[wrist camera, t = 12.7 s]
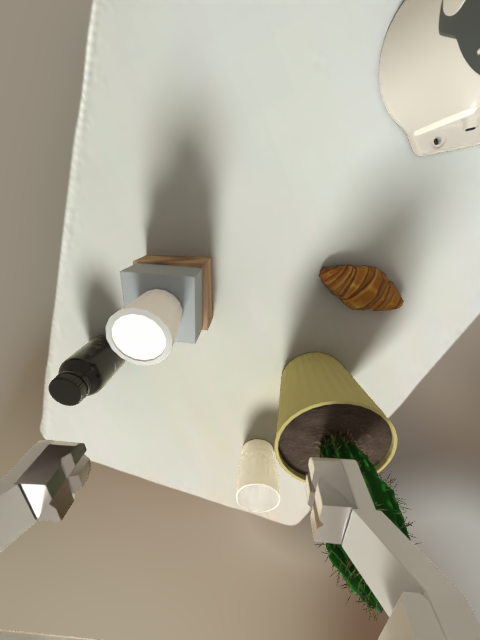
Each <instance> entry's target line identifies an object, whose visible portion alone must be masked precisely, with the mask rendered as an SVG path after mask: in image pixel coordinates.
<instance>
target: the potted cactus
mask: <svg viewBox="0 0 480 640" xmlns="http://www.w3.org/2000/svg"><path fill="white" fill-rule="evenodd" d="M396 447H397V434H396V431H395V428H394V426H393V425H392V423H391V421H390V420H389V419H388V418H387V417H386V416H385V414H384V413H383V412H382V411H381V409H380V408H379V407H378V406H377V405H376V404H375V403H374V401H373V400H372V399H371V398H370V397H369V396H368V395H367V393H366V392H365V391H364V390H363V389H362V388H361V386H360V385H359V384H358V383H357V382H356V381H355V380H354V378H353V377H352V376H351V375H350V374H349V373H348V371H347V370H346V369H345V368H344V367H343V366H342V364H341V363H339V362H338V360H336V359H335V358H333V357H332V356H330V355H327V354H324V353H319V352H312V353H306V354H302V355H300V356H298V357H296V358H294V359H293V360H292V361H290V362H289V363H288V364H287V366H286V367H285V369H284V371H283V374H282V377H281V388H280V399H279V410H278V420H277V430H276V439H275V447H274V450H275V454H276V458H277V460H278V462H279V464H280V465H281V467H282V468H283V469H284V470H285V471H286V472H287V473H288V474H290V475H291V476H292V477H294V478H296V479H298V480H300V481H302V482H305V483H306V475H307V473H308V472H309V465H308V463H309V459H310V457H318V458H338V459H349V460H355V461H356V462H357V464H358V466H359V469H360V471H361V474H362V476H363V479H364V481H365V484H366V486H367V489H368V491H369V494H370V496H371V499H372V501H373V504H374V506H375V509H376V510H379V511H382V512H383V513H384V514H385V515H386V516H387V517H388V518H389V519H390V520H391V521H392V522H393V524H394V525H395V526H396V527H397V528H398V529H399V530H400V531H401V532H402V533H403V534H404V535H405V536H406V537H407V538H408V539H409V540H410V537H409V535H408V532H407V528H406V527H407V525H408V526H409V525H411V524H409V523H408V524H407V525H406V526H405V524H404V522H405V521H404V518H403V516H402V513H401V511H400V509H399V504H398V503H399V502H398V501H396V498H395V494H394V491H393V490H392V489H391V488H389V487H388V486H387V484H386V483H385V482H384V481H383V480H381V479H379V477H378V473H379V472H380V471H381V470H383V468H385V466H386V465H387V464H388V463H389V462H390V461H391V459H392V457H393V455H394V454H395V451H396ZM388 478H389V477H388ZM388 478H387V479H388ZM391 481H392V480H390V484H391V483H392V482H391ZM388 483H389V482H388ZM390 484H389V485H390ZM397 500H398V499H397ZM399 501H400V500H399ZM311 510H312V509H311ZM412 537H413V536H412ZM410 541H411V540H410ZM321 545H324V542H323V544H320V546H321ZM414 545H415V544H414ZM326 548H327V550H328V552H329V555H328V557H329V559H330V560H331V562H332V564H333V566H335V567H336V568H337V569H338V570H337V571H339V573H341V574H342V576H343V578H344V579H345V581H346V583H347V584H348V585H349V586H348V587H351V589H352V592H354V593H357V594H358V595H359V596H360V598H361V599H362V602H363V601H364V602H363V603H367V607H368V608H366V609H369V608H370V610H369V611H370V612H371V608H372V610H373V612H375V611H374V609H377V611H378V612H380V613H382V610H383V607H382V606H381V604H380V603H379V601H378V600H377V598H376V597H375V595H374V594H373V592H372V591H371V589H370V588H369V586H368V585H367V583H366V582H365V580H364V579H363V577H362V576H361V574H360V573H359V571H358V570H357V568H356V567H355V565H354V564H353V562H352V561H351V559H350V558H349V556H348V555H347V553H346V552H345V550H344V549H343V547H342V544H333V543H326ZM326 554H327V553H326ZM338 579H339V576H338ZM344 585H346V584H344ZM344 588H347V587H344ZM350 596H351V595H350ZM349 598H350V597H349ZM348 600H349V599H348ZM359 600H360V599H359ZM358 602H359V601H358ZM360 602H361V601H360ZM370 614H371V613H370ZM374 614H375V613H374ZM375 616H376V615H375Z"/></svg>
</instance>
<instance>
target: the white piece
mask: <svg viewBox="0 0 480 640" xmlns="http://www.w3.org/2000/svg"><path fill="white" fill-rule="evenodd" d="M182 311H183V310H182V307H181V304H180V302H179V301H178V299H177V298H176V297H175V296H174V295H173V294H171V293H169V292H167V291H165V290H160V289H154V290H149V291H147V292H145V293H144V294H142V295H141V296H139V297H138V298H136V299H135V300H133V301H132V302H130V303H129V304H127V305H126V306H124V307H123V308H121V309H120V310H118V311H117V312H116V313H115V314H113V315H112V316H111V317H110V318H109V320H108V322H107V325H106V327H105V329H106V339H107V341H108V343H109V345H110V346H111V348H112V350H113V351H114V352H115V353H117V354H118V355H119V356H120V357H121V358H122V359H124V360H126V361H129V362H131V363H133V364H138V365H144V366H147V365H153V364H158V363H159V362H161V361H162V360H164V359H166V358H167V356H168V354H169V353H170V351H171V349H172V347H173V344H174V341H175V337H176V334H177V331H178V328H179V325H180V322H181V319H182Z"/></svg>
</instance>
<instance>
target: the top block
mask: <svg viewBox="0 0 480 640" xmlns="http://www.w3.org/2000/svg"><path fill="white" fill-rule="evenodd" d="M120 276H121V284H122V292H123V299H124V306H126V305H127V304H129V303H130V302H132V301H133V300H135V299H136V298H138V297H139V296H141V295H142V294H144V293H145V292H147V291H149V290H154V289H160V290H165V291H167V292H169V293H171V294H173V295H174V296H175V297H176V298H177V299H178V301H179V302H180V304H181V307H182V310H183V311H182V319H181V322H180V325H179V328H178V331H177V334H176V337H175V341H174V342H182V343H194V344H195V343H196V341H197V339H198V337H199V334H200V332H201V330H202V328H203V268H198V267H184V266H171V265H157V264H143V263H137V264H135V265H132V266H130V267H128V268H126V269H124V270H122V271H120Z"/></svg>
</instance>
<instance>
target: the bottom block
mask: <svg viewBox="0 0 480 640" xmlns="http://www.w3.org/2000/svg"><path fill="white" fill-rule="evenodd" d="M137 263H143V264H157V265H171V266H184V267H198V268H203V328H202V330H208V328H209V326H210V323H211V321H212V318H213V309H212V274H211V257H187V256H150V255H146V256H144V257H142V258H139V259H137V260H135V261H133V265H135V264H137Z"/></svg>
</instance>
